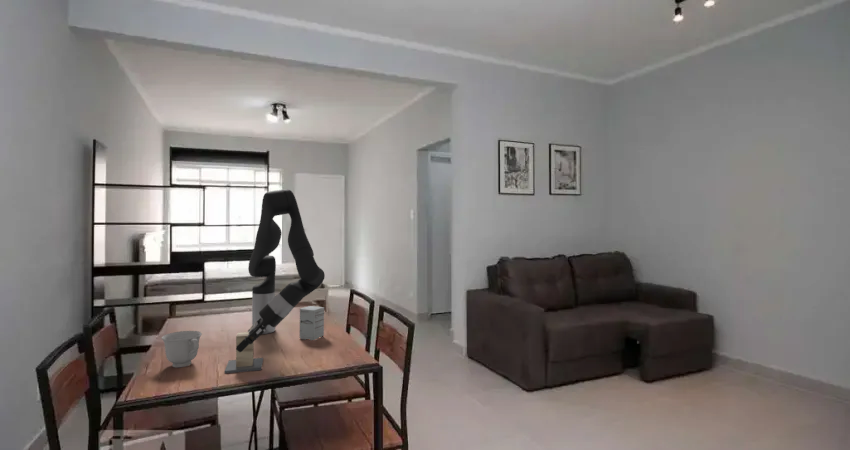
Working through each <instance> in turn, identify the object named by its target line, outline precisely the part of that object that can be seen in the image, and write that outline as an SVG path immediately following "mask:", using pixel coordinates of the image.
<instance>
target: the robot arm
mask: <svg viewBox="0 0 850 450" xmlns="http://www.w3.org/2000/svg"><path fill="white" fill-rule="evenodd" d="M260 214H261V215H260V221H259V224H258V228H257V232H256V236H255V240H254V248H253V250H252V253H251V254H250V255H251V256H250V257H249V262H248V275H250V277H252V278H265V280H264V281H261V282H260V283H258V284H255V285H254V286H252V289H251V292H252V293H251V295H252V297H251V298H252V300H251V301H252V306H251V307H252V310H251V311H252V313H251V314H252V315H251V319H252V320H251V324H252V325H251V326H250V328H249V329H248V330H247V332H248V335H247V336H246V337H245V339H244V340H243V341H242V342H241V343H240V344H239V345H238V346H237V347H236V346H235V350H236V349H237V350H238V351H239V352H242V351H243V350H244V349H245V348H246V347H247V346H248V345H249V344H252V343H253V342H254V343H255V341H256V340H257V339H258V338H260V336H261V335H266V334H271V333H274V332H275V330H276V327H277V326H278V325H280V323H281V322H282V321H283V320H284V319H286V317H287V316H288V315H289V314H290V313H291V311H293V309H294V308H295V307H296V306H297V305H298V304H299V303H300V302H301V301H302V300H303V299H304V298H305V297H306V296H309V295H310V294H311V293H312V292H313V291H315V290H317V289H318V288H319V287H320V286H321V285H322V284H323V282H324V280H325V278H326V277H325V271H324V270H323V269H322V268H321V267H320V266H318V263H317V262H316V259H315V257H314V250H313V248H312V246H311V243H310V241H309V239H308V237H307V234H306V231H305V227H304V224H303V220H302V216H301V212H300V209H299V206H298V202H297V199H296V196H295V194H294V193H293V191H292V190H291V189H288V188H285V189H277V190H269V191H266V192H265V193H264V195H263V197H262V203H261V212H260ZM282 215H289V217H290V227H289V231H288V235H287V245H288V249H289V250H290V253H291V255H292V257H293V259H294V261H295V266H296V270H297V273H298V277H299V279H298V280H297V281H295V282H290V283H288V284H287V285H286V286H285V287H284V288H282V290H280V292H279V293H277V294H276V291H275V290H276V289H275V287H276V270H277V267H276V266H277V263H276V258H275V256H274V255H270V254H272V253H273V252H274V251H275V250H277V248H278V246H279V245H280V243H281V242H280V241H281V239H282V230H281V227H280V226H279V225H278V223H277V222H276V221H275V219H274V218H275V217H276V216H282ZM250 336H252V337H253V339H252V340H251V339H250V338H249V337H250Z"/></svg>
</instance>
